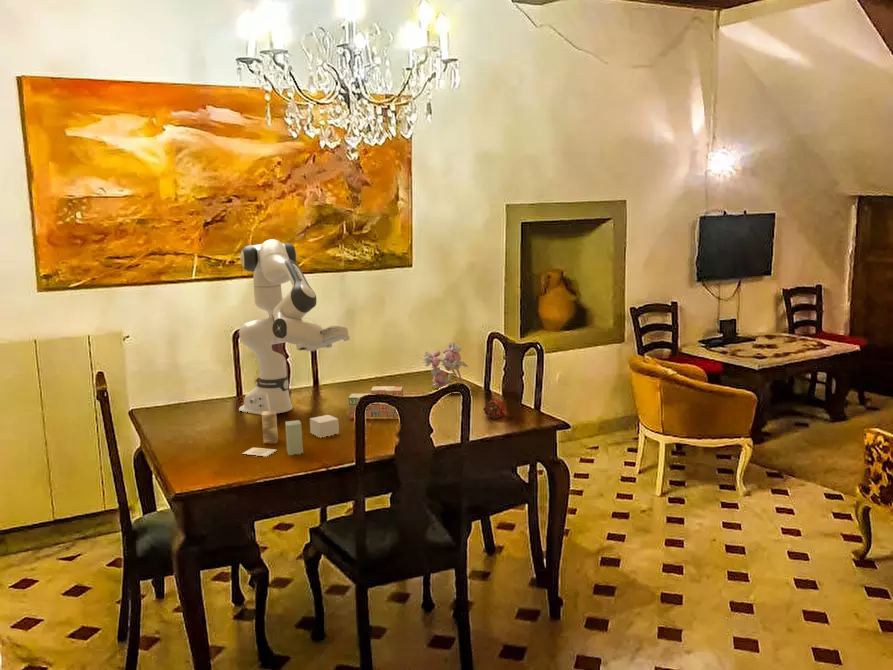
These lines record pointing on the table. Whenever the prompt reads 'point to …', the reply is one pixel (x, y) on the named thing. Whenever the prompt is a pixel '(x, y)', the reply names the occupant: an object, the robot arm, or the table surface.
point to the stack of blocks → (376, 409)
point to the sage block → (294, 437)
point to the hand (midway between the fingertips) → (339, 342)
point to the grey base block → (324, 426)
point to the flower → (445, 364)
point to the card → (260, 452)
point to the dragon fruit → (495, 408)
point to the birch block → (269, 427)
